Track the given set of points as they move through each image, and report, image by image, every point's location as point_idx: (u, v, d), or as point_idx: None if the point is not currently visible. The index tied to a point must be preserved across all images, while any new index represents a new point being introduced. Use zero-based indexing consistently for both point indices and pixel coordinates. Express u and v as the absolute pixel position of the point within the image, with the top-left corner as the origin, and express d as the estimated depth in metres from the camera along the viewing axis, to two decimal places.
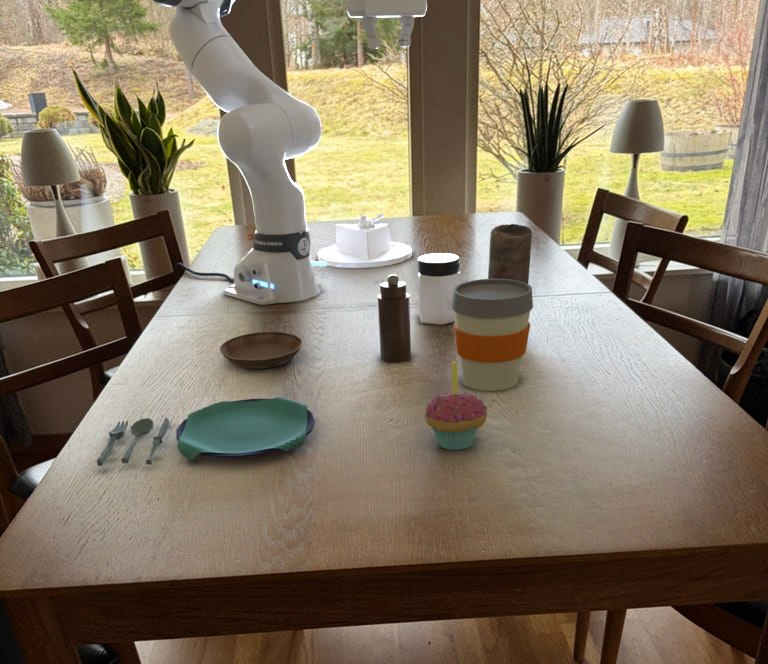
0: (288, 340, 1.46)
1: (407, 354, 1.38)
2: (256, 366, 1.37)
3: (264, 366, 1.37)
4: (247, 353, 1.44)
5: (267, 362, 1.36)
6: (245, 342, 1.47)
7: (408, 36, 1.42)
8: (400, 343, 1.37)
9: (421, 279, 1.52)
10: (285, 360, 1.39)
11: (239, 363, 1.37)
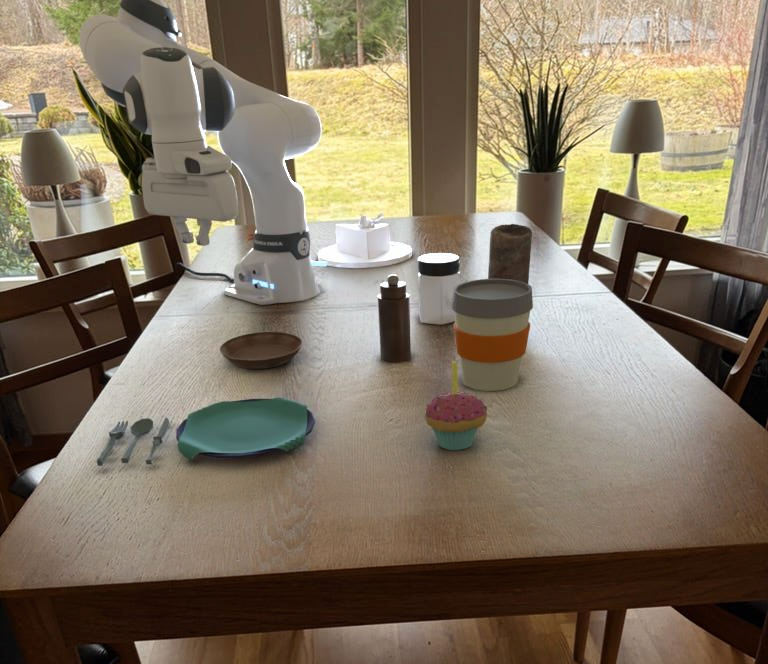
0: (288, 340, 1.46)
1: (407, 354, 1.38)
2: (256, 366, 1.37)
3: (264, 366, 1.37)
4: (247, 353, 1.44)
5: (267, 362, 1.36)
6: (245, 342, 1.47)
7: None
8: (400, 343, 1.37)
9: (421, 279, 1.52)
10: (285, 360, 1.39)
11: (239, 363, 1.37)
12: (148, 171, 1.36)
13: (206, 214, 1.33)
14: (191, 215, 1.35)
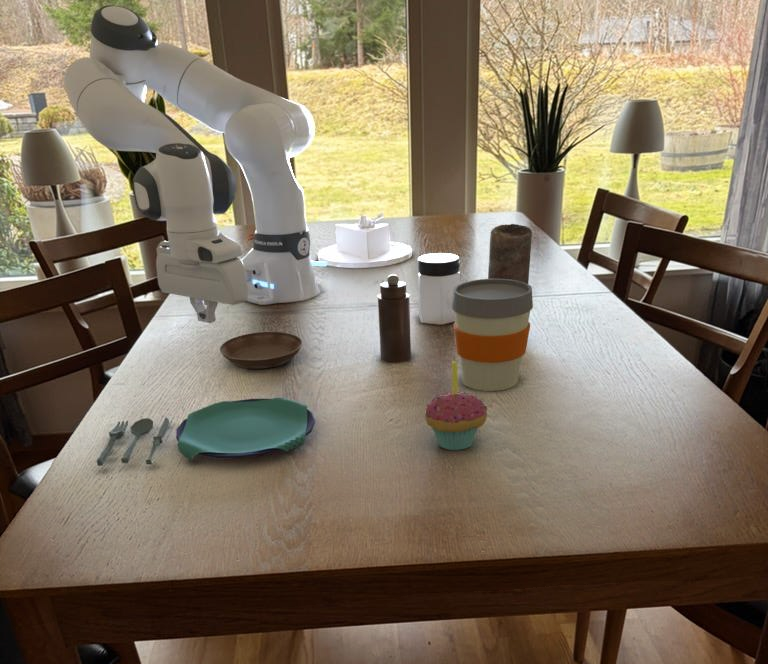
0: (288, 340, 1.46)
1: (407, 354, 1.38)
2: (256, 366, 1.37)
3: (264, 366, 1.37)
4: (247, 353, 1.44)
5: (267, 362, 1.36)
6: (245, 342, 1.47)
7: (206, 311, 1.47)
8: (400, 343, 1.37)
9: (421, 279, 1.52)
10: (285, 360, 1.39)
11: (239, 363, 1.37)
12: (162, 254, 1.43)
13: (217, 297, 1.40)
14: (203, 297, 1.42)
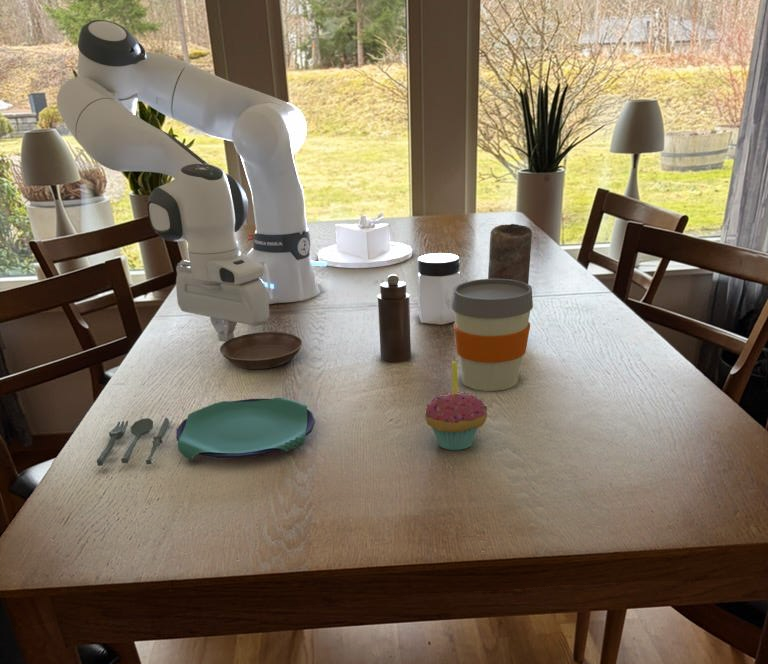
0: (288, 340, 1.46)
1: (407, 354, 1.38)
2: (256, 366, 1.37)
3: (264, 366, 1.37)
4: (248, 353, 1.44)
5: (268, 362, 1.36)
6: (246, 342, 1.47)
7: None
8: (400, 343, 1.37)
9: (421, 279, 1.52)
10: (285, 360, 1.39)
11: (239, 363, 1.37)
12: (183, 273, 1.43)
13: (238, 318, 1.39)
14: (224, 317, 1.41)
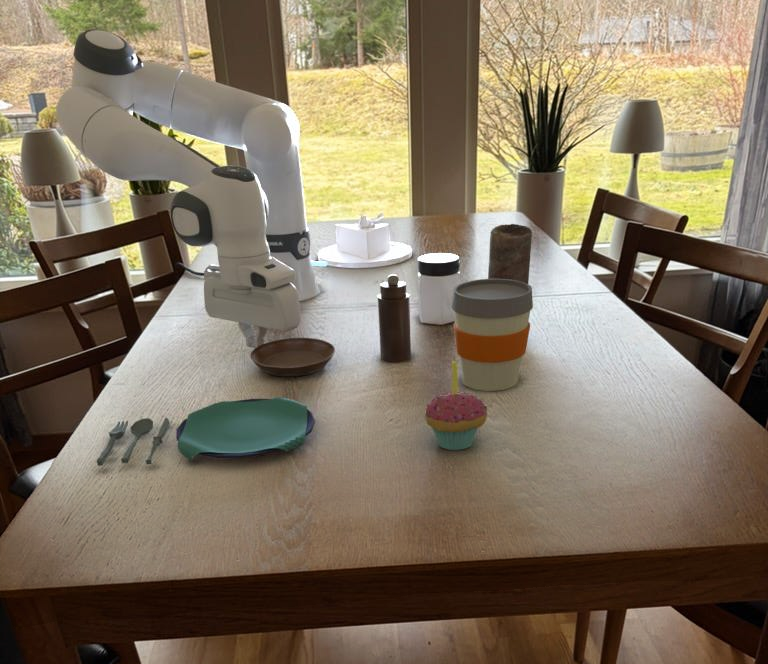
0: (320, 347, 1.42)
1: (407, 354, 1.38)
2: (288, 374, 1.33)
3: (296, 374, 1.33)
4: (278, 360, 1.40)
5: (300, 369, 1.32)
6: (276, 348, 1.43)
7: (254, 336, 1.43)
8: (400, 343, 1.37)
9: (421, 279, 1.52)
10: (318, 368, 1.35)
11: (271, 370, 1.33)
12: (211, 278, 1.39)
13: (269, 323, 1.35)
14: (253, 323, 1.37)
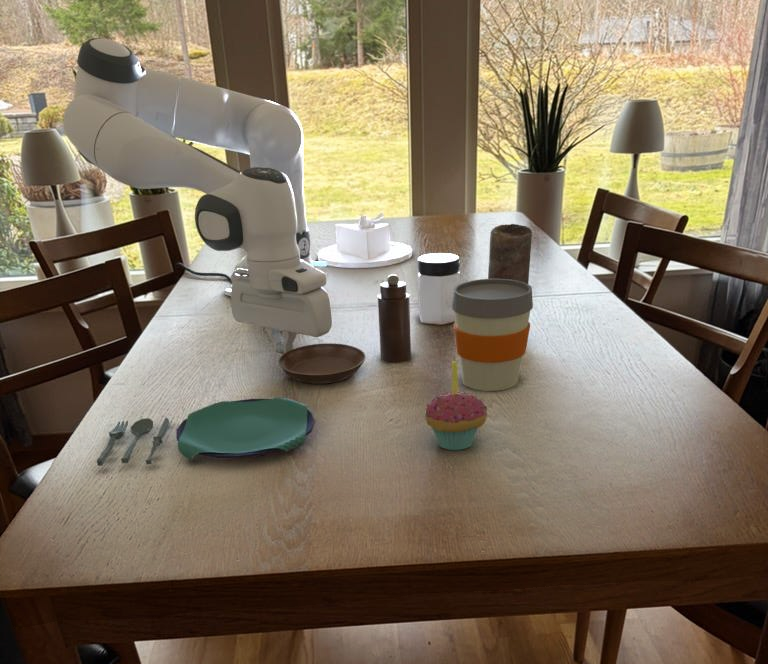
0: (350, 353, 1.39)
1: (407, 354, 1.38)
2: (317, 381, 1.30)
3: (325, 381, 1.30)
4: (307, 366, 1.37)
5: (329, 377, 1.29)
6: (305, 354, 1.39)
7: None
8: (400, 343, 1.37)
9: (421, 279, 1.52)
10: (347, 375, 1.31)
11: (299, 377, 1.30)
12: (239, 282, 1.36)
13: (299, 329, 1.32)
14: (283, 328, 1.34)
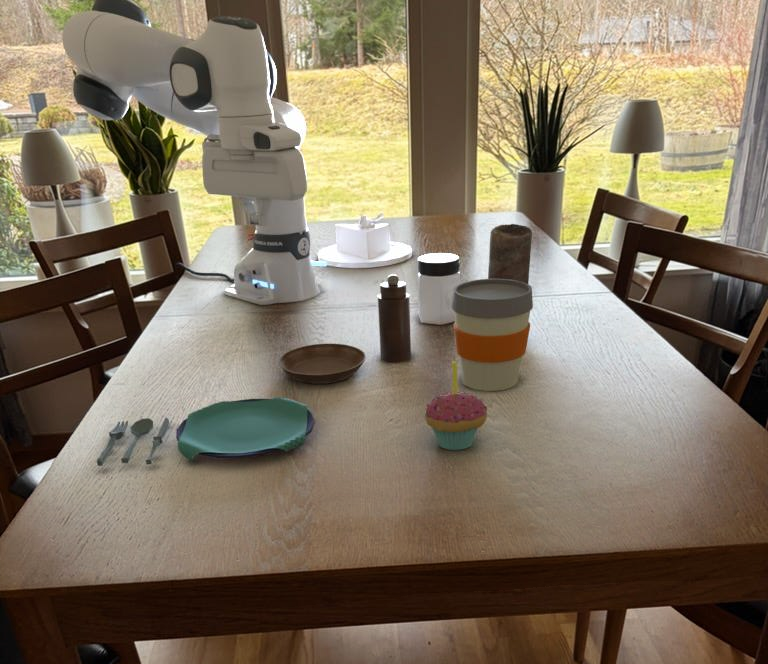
0: (350, 353, 1.39)
1: (407, 354, 1.38)
2: (317, 381, 1.30)
3: (325, 381, 1.30)
4: (307, 366, 1.37)
5: (329, 377, 1.29)
6: (305, 354, 1.40)
7: (257, 213, 1.34)
8: (400, 343, 1.37)
9: (421, 279, 1.52)
10: (347, 375, 1.31)
11: (299, 377, 1.30)
12: (210, 148, 1.30)
13: (273, 193, 1.26)
14: (256, 194, 1.28)
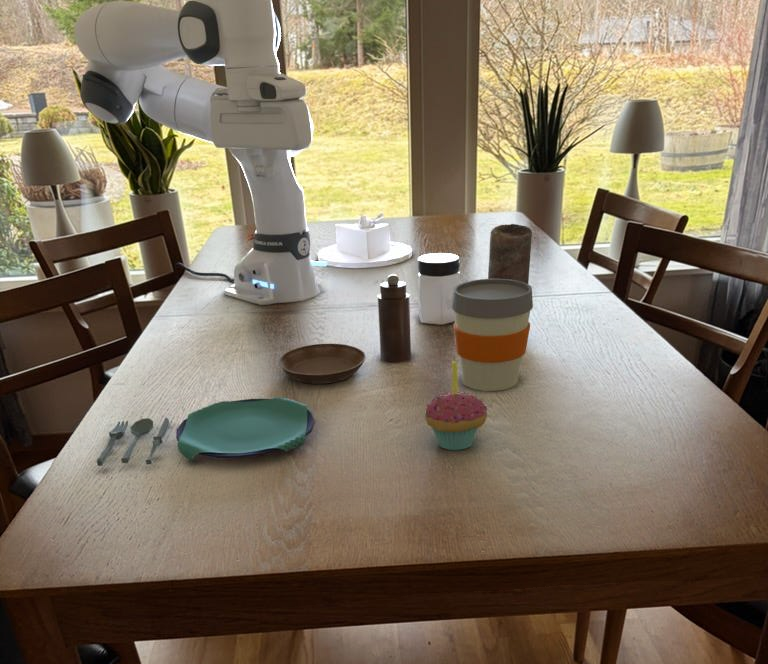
0: (350, 353, 1.39)
1: (407, 354, 1.38)
2: (317, 381, 1.30)
3: (325, 381, 1.30)
4: (307, 366, 1.37)
5: (329, 377, 1.29)
6: (305, 354, 1.40)
7: (263, 166, 1.37)
8: (400, 343, 1.37)
9: (421, 279, 1.52)
10: (347, 375, 1.31)
11: (299, 377, 1.30)
12: (218, 101, 1.33)
13: (279, 143, 1.30)
14: (262, 145, 1.32)
